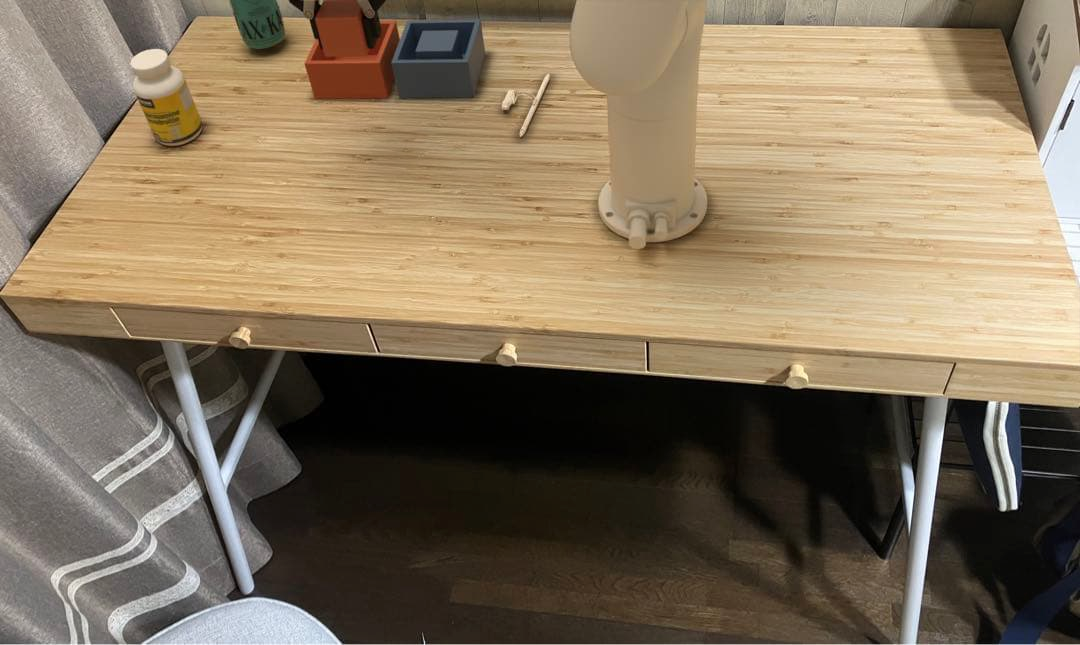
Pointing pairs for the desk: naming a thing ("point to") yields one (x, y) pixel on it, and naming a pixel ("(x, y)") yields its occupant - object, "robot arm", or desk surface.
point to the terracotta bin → (355, 69)
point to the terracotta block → (341, 28)
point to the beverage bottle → (259, 22)
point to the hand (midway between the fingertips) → (349, 41)
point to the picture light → (512, 99)
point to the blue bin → (439, 62)
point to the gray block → (439, 45)
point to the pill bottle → (165, 98)
